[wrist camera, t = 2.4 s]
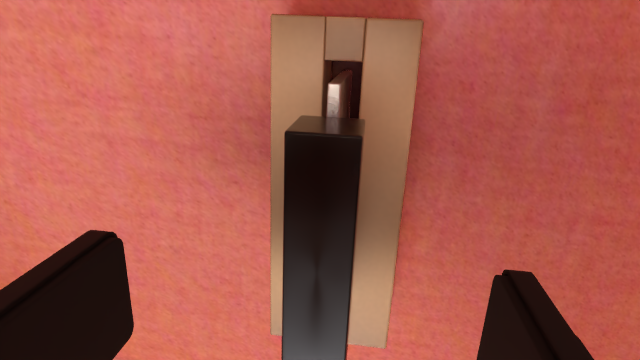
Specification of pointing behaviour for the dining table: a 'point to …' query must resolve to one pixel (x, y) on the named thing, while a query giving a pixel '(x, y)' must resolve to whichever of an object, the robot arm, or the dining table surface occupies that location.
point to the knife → (321, 227)
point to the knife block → (378, 151)
